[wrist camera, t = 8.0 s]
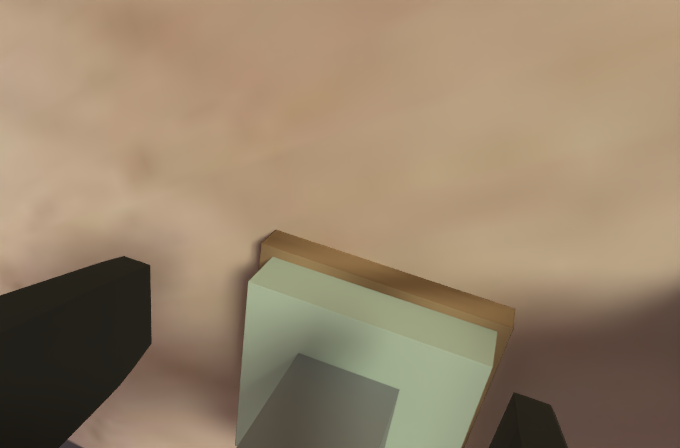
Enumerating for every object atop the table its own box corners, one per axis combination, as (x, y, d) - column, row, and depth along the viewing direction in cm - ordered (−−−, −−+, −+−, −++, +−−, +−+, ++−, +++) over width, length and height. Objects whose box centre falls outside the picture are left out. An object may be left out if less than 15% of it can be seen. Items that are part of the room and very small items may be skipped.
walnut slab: (515, 298, 20) (513, 328, 18) (449, 465, 25) (442, 501, 23) (282, 223, 22) (261, 243, 21) (262, 388, 27) (243, 416, 25)
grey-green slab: (497, 331, 19) (492, 367, 17) (438, 488, 23) (429, 529, 21) (272, 256, 21) (248, 281, 19) (256, 413, 25) (234, 445, 23)
